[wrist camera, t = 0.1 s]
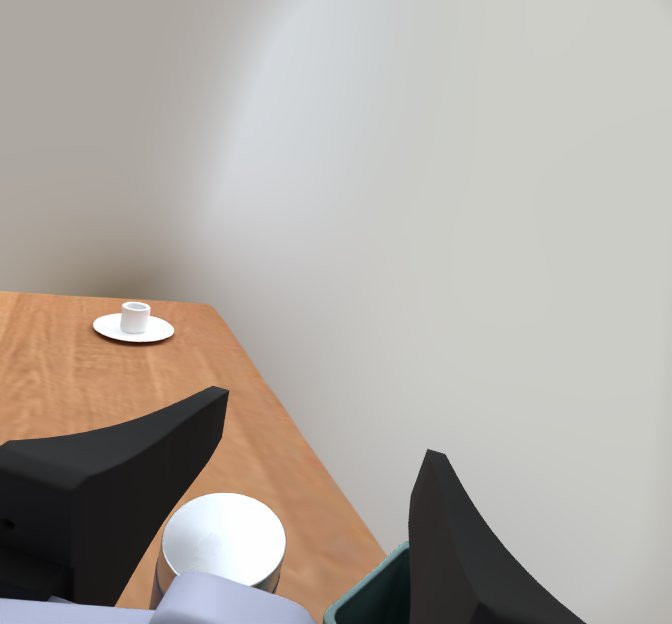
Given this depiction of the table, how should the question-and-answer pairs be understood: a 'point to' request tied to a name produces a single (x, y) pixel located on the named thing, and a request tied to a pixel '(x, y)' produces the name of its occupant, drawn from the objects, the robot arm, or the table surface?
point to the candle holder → (133, 324)
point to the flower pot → (377, 594)
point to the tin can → (221, 543)
